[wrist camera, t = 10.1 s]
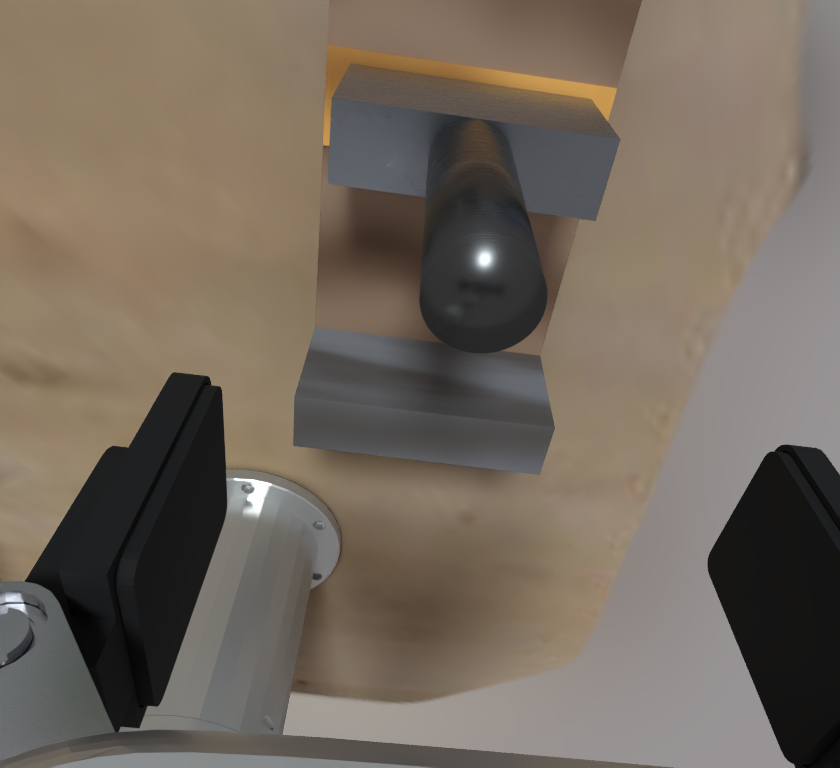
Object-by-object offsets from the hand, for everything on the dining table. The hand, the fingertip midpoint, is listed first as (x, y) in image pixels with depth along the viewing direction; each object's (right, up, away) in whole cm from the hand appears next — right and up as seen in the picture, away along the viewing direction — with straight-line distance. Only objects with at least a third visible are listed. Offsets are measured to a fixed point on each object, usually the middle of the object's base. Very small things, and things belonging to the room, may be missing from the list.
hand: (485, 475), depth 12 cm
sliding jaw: (+1, +13, +17) cm, 21 cm away
